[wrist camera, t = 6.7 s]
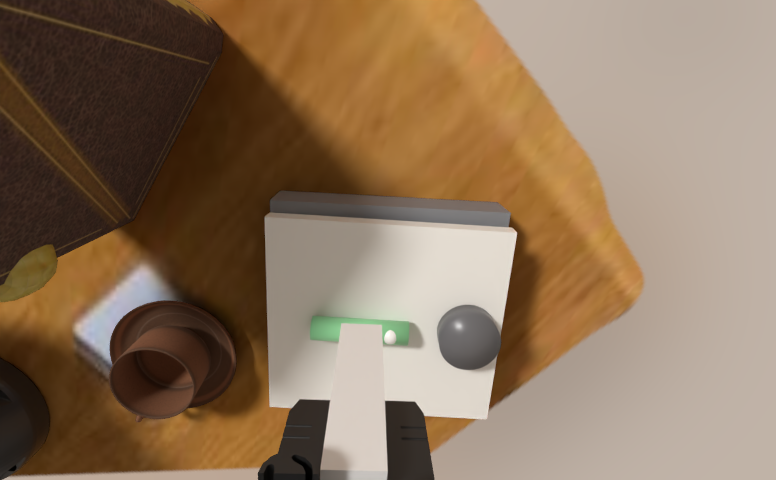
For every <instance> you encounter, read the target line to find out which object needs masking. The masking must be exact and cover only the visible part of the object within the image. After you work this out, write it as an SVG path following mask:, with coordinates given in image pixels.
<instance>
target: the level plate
mask: <svg viewBox="0 0 776 480" xmlns="http://www.w3.org/2000/svg"><path fill="white" fill-rule="evenodd" d="M516 238H517V232H516V231H515V230H514V229H513V228H511V227H495V226H479V225H463V224H447V223H431V222H415V221H400V220H384V219H368V218H352V217H336V216H320V215H304V214H289V213H273V212H270V213H268V214H267V215H266V216H265V252H266V289H267V326H268V362H269V399H270V407H282V408H292V407H293V406H294V405H295V404H296V403H297V402H298V401H299V399H310V400H330V398H331V392H332V385H333V378H334V371H335V364H336V357H337V350H338V343H339V336H340V329H341V323H348V324H374V325H382V340H383V365H384V390H385V401H414V402H416V403H417V405H418V406H419V408H420V409H421V410H422V412H423V413H424V416H436V417H454V418H471V419H487V416H488V410H489V403H490V397H491V391H492V385H493V379H494V373H495V367H496V360H497V354H498V353H499V350H500V347H501V330H502V324H503V317H504V311H505V305H506V299H507V293H508V287H509V281H510V274H511V268H512V262H513V256H514V250H515V244H516Z"/></svg>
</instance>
